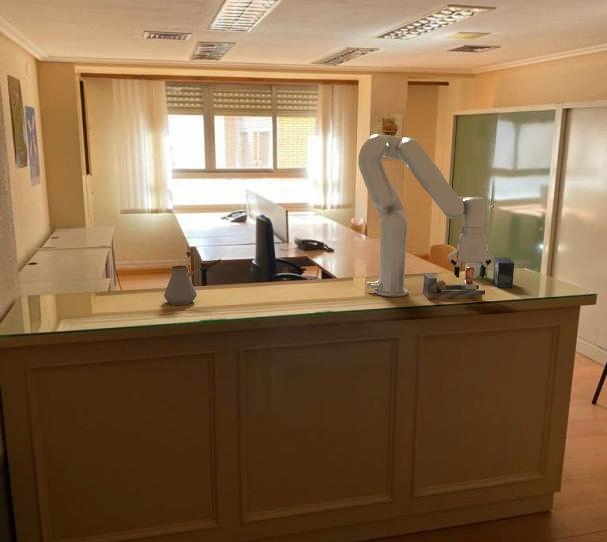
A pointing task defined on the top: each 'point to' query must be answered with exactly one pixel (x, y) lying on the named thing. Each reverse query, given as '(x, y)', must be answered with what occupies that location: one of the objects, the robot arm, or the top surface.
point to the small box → (503, 272)
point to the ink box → (478, 266)
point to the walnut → (440, 285)
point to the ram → (468, 279)
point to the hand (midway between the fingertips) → (469, 276)
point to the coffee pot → (182, 285)
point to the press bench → (448, 291)
